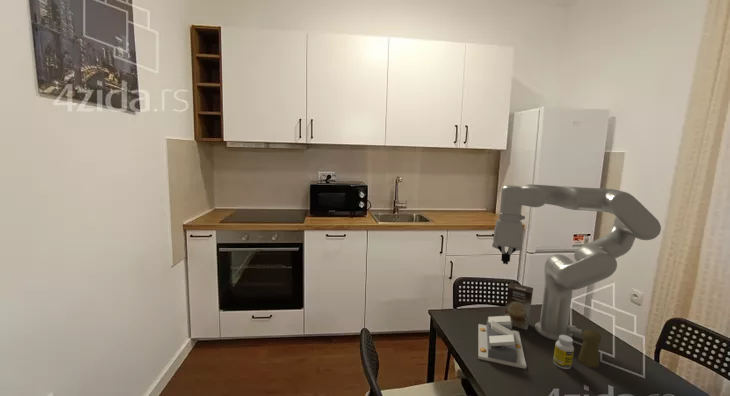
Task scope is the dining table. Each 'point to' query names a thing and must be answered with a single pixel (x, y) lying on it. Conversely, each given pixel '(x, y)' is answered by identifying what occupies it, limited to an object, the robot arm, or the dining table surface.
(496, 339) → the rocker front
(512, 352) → the switch unit
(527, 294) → the coffee box
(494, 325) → the rocker middle
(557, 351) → the supplement bottle
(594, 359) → the cork
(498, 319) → the rocker back
